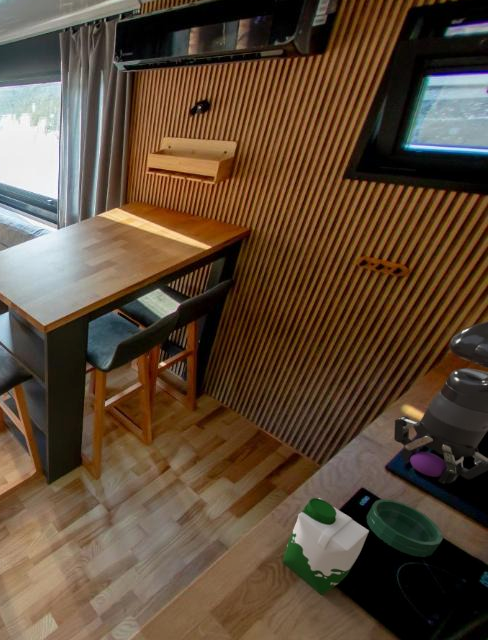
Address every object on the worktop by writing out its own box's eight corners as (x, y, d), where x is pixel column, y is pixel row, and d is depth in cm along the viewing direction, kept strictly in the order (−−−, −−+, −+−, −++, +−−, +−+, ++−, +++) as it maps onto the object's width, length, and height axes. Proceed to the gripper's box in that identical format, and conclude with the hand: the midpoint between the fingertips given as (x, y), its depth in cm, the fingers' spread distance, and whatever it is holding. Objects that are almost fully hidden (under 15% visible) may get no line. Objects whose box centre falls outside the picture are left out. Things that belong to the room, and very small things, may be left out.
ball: (414, 458, 83) (423, 443, 81) (447, 476, 79) (457, 461, 77) (400, 466, 82) (409, 451, 80) (433, 485, 78) (443, 470, 76)
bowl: (381, 506, 89) (389, 492, 87) (443, 547, 80) (454, 533, 78) (354, 523, 87) (361, 509, 85) (415, 567, 78) (425, 553, 76)
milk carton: (297, 540, 86) (320, 487, 77) (348, 580, 78) (380, 526, 70) (274, 560, 83) (295, 507, 75) (325, 603, 75) (354, 549, 67)
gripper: (529, 435, 68) (486, 492, 75) (419, 388, 80) (391, 440, 88) (506, 449, 66) (463, 506, 73) (397, 398, 79) (370, 451, 86)
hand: (424, 470), depth 80 cm, fingers closed on ball, 5 cm apart
